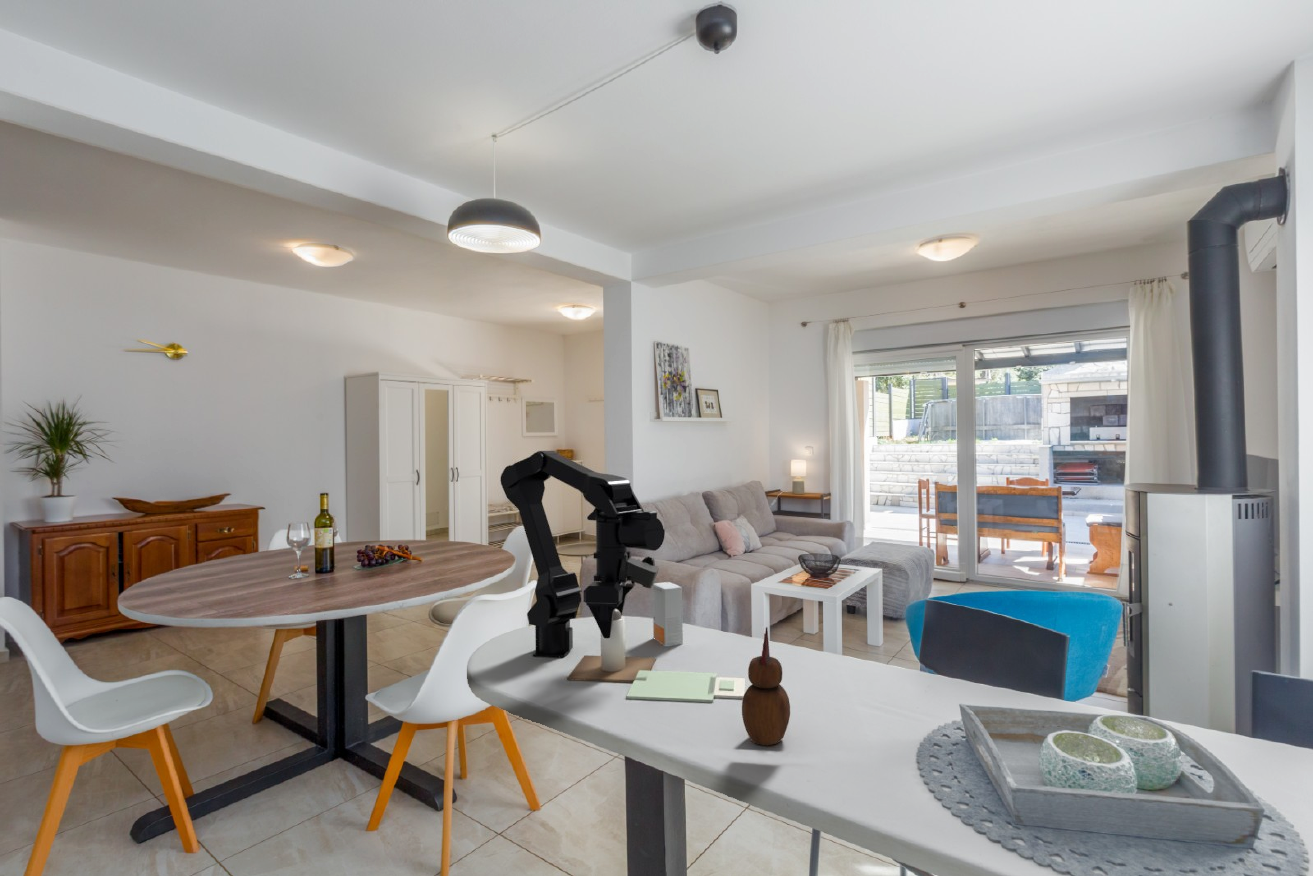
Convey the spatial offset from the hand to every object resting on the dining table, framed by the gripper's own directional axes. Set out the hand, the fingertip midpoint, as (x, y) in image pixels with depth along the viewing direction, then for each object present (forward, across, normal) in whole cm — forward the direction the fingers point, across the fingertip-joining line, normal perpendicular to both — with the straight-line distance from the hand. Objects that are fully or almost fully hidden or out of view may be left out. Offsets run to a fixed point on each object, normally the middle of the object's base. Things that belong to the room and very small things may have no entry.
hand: (612, 630), depth 116 cm
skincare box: (+7, +17, -8) cm, 20 cm away
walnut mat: (+7, 0, 0) cm, 7 cm away
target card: (+7, -7, -21) cm, 23 cm away
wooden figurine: (+7, -25, -27) cm, 38 cm away
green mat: (+7, -7, -12) cm, 16 cm away
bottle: (+7, 0, 0) cm, 7 cm away
